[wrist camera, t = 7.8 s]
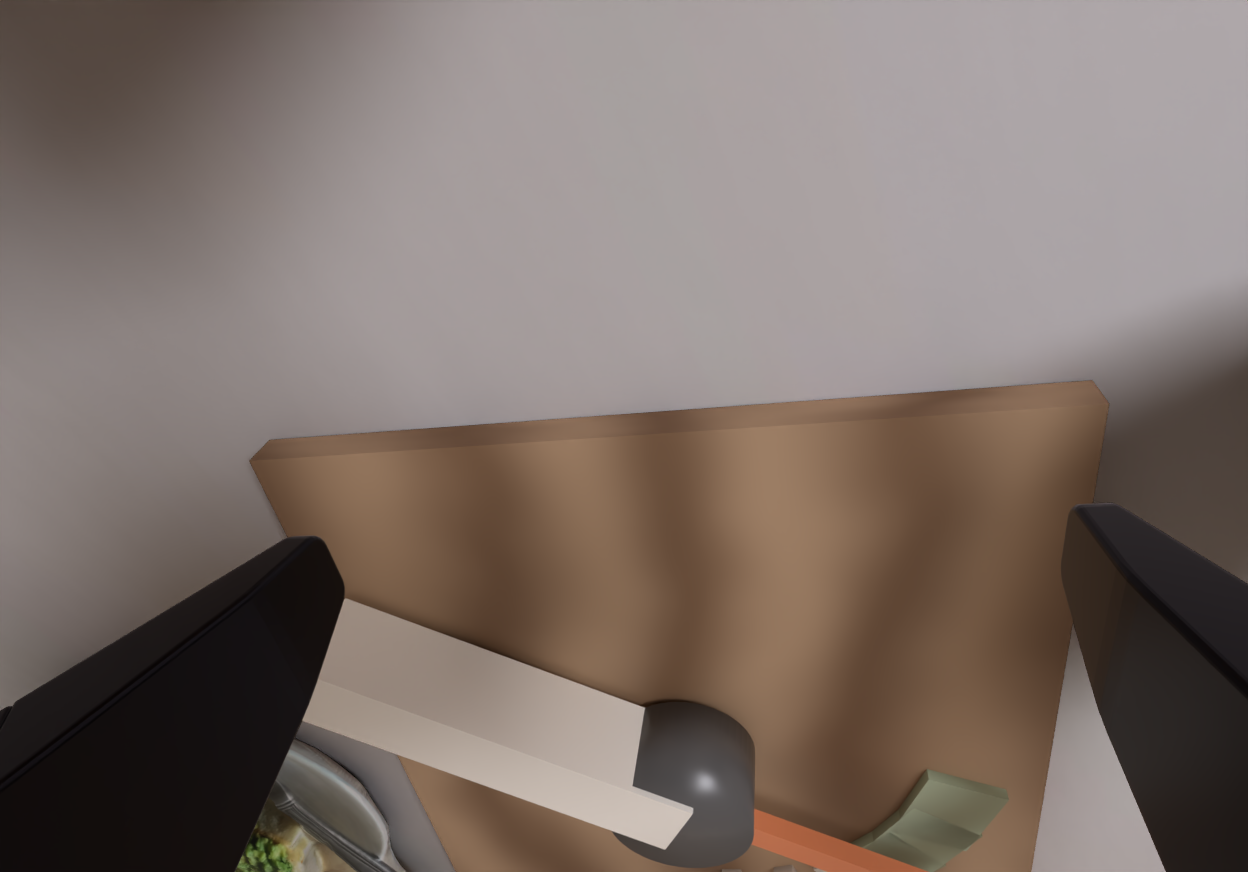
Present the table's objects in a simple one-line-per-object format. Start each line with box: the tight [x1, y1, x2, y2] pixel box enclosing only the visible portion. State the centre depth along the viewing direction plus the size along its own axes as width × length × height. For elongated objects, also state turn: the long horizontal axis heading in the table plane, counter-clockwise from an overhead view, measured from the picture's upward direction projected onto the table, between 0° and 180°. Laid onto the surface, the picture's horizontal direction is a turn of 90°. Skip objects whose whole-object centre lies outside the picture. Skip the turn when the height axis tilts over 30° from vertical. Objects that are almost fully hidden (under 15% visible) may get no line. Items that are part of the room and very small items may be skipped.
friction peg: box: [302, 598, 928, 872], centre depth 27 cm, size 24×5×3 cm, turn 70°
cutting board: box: [249, 380, 1109, 872], centre depth 28 cm, size 24×25×2 cm
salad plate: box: [235, 738, 406, 872], centre depth 36 cm, size 19×18×5 cm
